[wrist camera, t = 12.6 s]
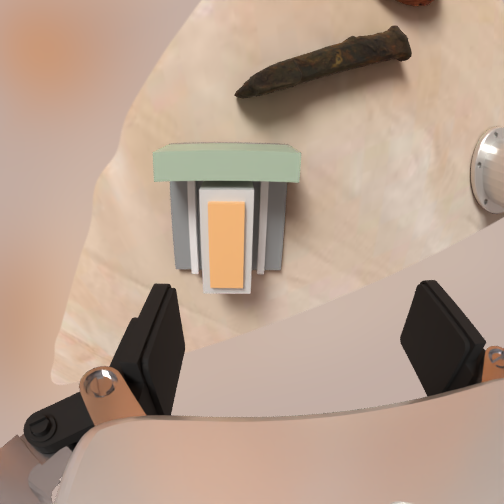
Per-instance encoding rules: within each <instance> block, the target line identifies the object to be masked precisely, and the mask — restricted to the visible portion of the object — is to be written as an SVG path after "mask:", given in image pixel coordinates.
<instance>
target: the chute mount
mask: <svg viewBox="0 0 504 504" xmlns="http://www.w3.org/2000/svg"><path fill="white" fill-rule="evenodd" d="M300 165H301V152H299V151H297V150H296V149H294V148H293V147H291V146H290V145H288V144H270V143H173V144H169V145H167V146H165V147H163V148H161V149H158V150H156V151H154V152H153V168H154V182H161V181H170V197H171V214H172V229H173V242H174V254H175V265H176V269H192V274H199V269H202V257H201V234H200V203H199V189H200V187H201V185H202V183H203V181H252V182H253V187H254V209H253V239H252V269H251V270H257V274H264V270H281V261H282V249H283V236H284V223H285V209H286V194H287V182H297V183H299V179H300Z"/></svg>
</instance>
